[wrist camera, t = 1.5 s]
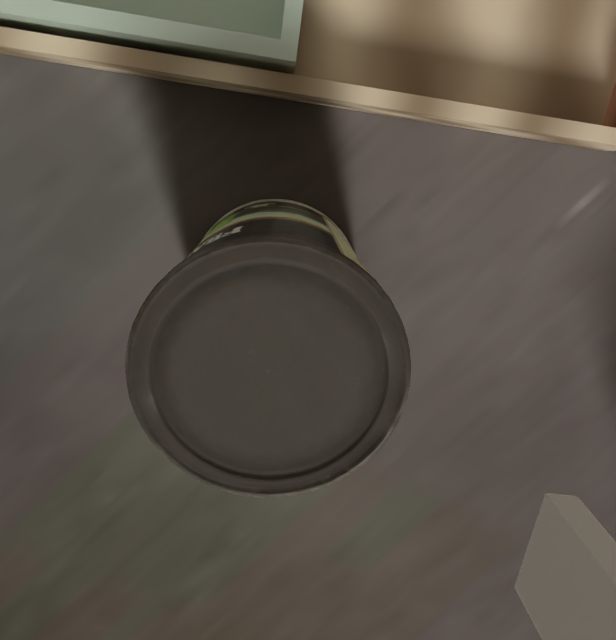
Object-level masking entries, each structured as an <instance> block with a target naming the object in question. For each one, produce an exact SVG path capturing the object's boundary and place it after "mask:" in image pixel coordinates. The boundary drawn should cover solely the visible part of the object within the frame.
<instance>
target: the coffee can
mask: <svg viewBox="0 0 616 640" xmlns="http://www.w3.org/2000/svg"><path fill="white" fill-rule="evenodd" d="M125 366H126V380H127V388H128V393H129V398H130V401H131V404H132V407H133V409H134V412H135V414H136V417H137V419H138V421H139V422H140V424H141V426H142V428H143V430H144V431H145V433H146V434H147V436H148V438H149V439H150V441H151V442H152V443H153V444H154V445H155V447H156V448H157V449H158V450H159V451H160V452H161V453H162V454H163V455H164V456H165V457H166V458H167V459H168V460H169V461H170V462H171V463H172V464H174V465H175V466H177V467H178V468H179V469H180V470H182V471H183V472H185V473H186V474H188V475H189V476H191V477H193V478H194V479H196V480H198V481H200V482H202V483H204V484H206V485H209V486H211V487H214V488H217V489H219V490H222V491H226V492H230V493H234V494H238V495H243V496H250V497H264V498H275V497H287V496H294V495H300V494H304V493H308V492H312V491H315V490H318V489H321V488H324V487H326V486H328V485H331V484H333V483H335V482H337V481H339V480H341V479H343V478H345V477H346V476H348V475H350V474H351V473H353V472H354V471H356V470H357V469H358V468H359V467H361V466H362V465H364V464H365V463H366V462H367V461H368V460H369V459H371V458H372V457H373V456H374V455H375V454H376V453H377V452H378V450H379V449H380V448H381V447H382V446H383V445H384V444H385V442H386V441H387V440H388V438H389V436H390V435H391V434H392V432H393V430H394V429H395V427H396V425H397V423H398V421H399V419H400V417H401V415H402V412H403V409H404V407H405V403H406V400H407V396H408V392H409V387H410V376H411V359H410V350H409V344H408V339H407V336H406V333H405V329H404V326H403V323H402V321H401V319H400V316H399V314H398V312H397V310H396V309H395V307H394V305H393V303H392V301H391V300H390V298H389V297H388V295H387V294H386V293H385V291H384V290H383V289H382V288H381V286H380V285H379V284H378V283H377V281H376V280H375V279H374V278H373V277H372V276H371V275H370V274H369V273H368V272H367V271H366V269H365V268H364V267H363V265H362V264H361V262H360V261H359V259H358V257H357V256H356V254H355V253H354V251H353V249H352V247H351V245H350V243H349V241H348V240H347V238H346V236H345V235H344V234H343V232H342V231H341V230H340V229H339V227H338V226H337V225H336V224H335V223H334V222H333V221H332V220H331V219H329V218H328V217H327V216H326V215H325V214H323V213H322V212H320V211H318V210H316V209H314V208H313V207H311V206H308V205H306V204H303V203H300V202H296V201H292V200H286V199H262V200H257V201H252V202H249V203H246V204H244V205H241V206H239V207H237V208H235V209H233V210H232V211H230V212H228V213H227V214H225V215H224V216H223V217H221V218H220V219H219V220H218V221H217V222H216V223H215V224H214V225H213V226H212V227H211V228H210V229H209V231H208V232H207V233H206V234H205V236H204V238H203V240H202V241H201V242H200V243H199V244H198V245H197V246H196V247H195V249H194V250H193V251H192V252H191V253H190V254H189V255H188V256H187V257H186V258H185V259H184V260H183V261H182V262H181V263H179V264H178V265H177V266H176V267H174V268H173V269H172V270H171V271H170V272H169V273H168V274H167V275H166V276H165V277H164V278H163V279H162V280H161V281H160V282H159V283H158V284H157V285H156V286H155V287H154V289H153V290H152V291H151V293H150V294H149V295H148V297H147V298H146V300H145V302H144V303H143V305H142V306H141V308H140V310H139V313H138V315H137V317H136V319H135V321H134V322H133V325H132V329H131V332H130V336H129V340H128V345H127V351H126V363H125Z"/></svg>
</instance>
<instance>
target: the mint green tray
mask: <svg viewBox="0 0 616 640" xmlns="http://www.w3.org/2000/svg"><path fill="white" fill-rule="evenodd" d="M303 1H304V0H0V25H1V26H7V27H14V28H20V29H26V30H32V31H38V32H44V33H50V34H56V35H62V36H68V37H74V38H80V39H86V40H92V41H98V42H105V43H111V44H117V45H123V46H129V47H135V48H141V49H147V50H153V51H159V52H165V53H171V54H177V55H183V56H189V57H196V58H202V59H208V60H214V61H220V62H226V63H232V64H238V65H244V66H250V67H256V68H262V69H268V70H274V71H280V72H287V73H293V74H294V73H295V65H296V57H297V49H298V41H299V33H300V25H301V17H302V9H303Z"/></svg>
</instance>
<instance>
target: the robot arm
mask: <svg viewBox="0 0 616 640" xmlns="http://www.w3.org/2000/svg"><path fill="white" fill-rule="evenodd" d="M514 588H515V590H516V591H517V593H518V595H519V597H520V599H521V601H522V603H523V605H524V607H525V609H526V610H527V612H528V614H529V616H530V618H531V620H532V622H533V624H534V626H535V627H536V629H537V631H538V633H539V635H540V637H541V639H542V640H616V542H615V540H614V539H613V538H612V537H611V536H610V535H609V533H608V532H607V531H606V530H605V529H604V527H603V526H602V525H601V524H600V523H599V522H598V520H597V519H596V518H595V517H594V516H593V514H592V513H591V512H590V511H589V510H588V509H587V507H586V506H585V505H584V504H583V503H582V501H581V500H580V499H579V498H578V497H577V496H572V495H562V494H552V493H545V496H544V499H543V502H542V505H541V508H540V511H539V514H538V517H537V520H536V523H535V526H534V529H533V532H532V535H531V538H530V541H529V544H528V547H527V550H526V553H525V556H524V559H523V562H522V565H521V568H520V571H519V574H518V577H517V580H516V583H515V586H514Z"/></svg>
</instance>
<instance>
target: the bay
mask: <svg viewBox="0 0 616 640" xmlns="http://www.w3.org/2000/svg"><path fill="white" fill-rule="evenodd" d="M0 54H6V55H12V56H18V57H25V58H31V59H37V60H43V61H49V62H56V63H62V64H68V65H74V66H81V67H87V68H93V69H99V70H106V71H112V72H118V73H124V74H130V75H137V76H143V77H149V78H155V79H162V80H168V81H174V82H180V83H187V84H193V85H199V86H205V87H211V88H218V89H224V90H230V91H236V92H243V93H249V94H255V95H261V96H268V97H274V98H280V99H286V100H292V101H299V102H305V103H311V104H317V105H324V106H330V107H336V108H342V109H349V110H355V111H361V112H367V113H373V114H380V115H386V116H392V117H398V118H405V119H411V120H417V121H423V122H430V123H436V124H442V125H448V126H454V127H461V128H467V129H473V130H479V131H486V132H492V133H498V134H504V135H511V136H517V137H523V138H529V139H535V140H542V141H548V142H554V143H560V144H567V145H573V146H579V147H585V148H592V149H598V150H604V151H616V0H304V1H303V9H302V17H301V25H300V33H299V41H298V49H297V57H296V65H295V73H294V74H293V73H287V72H280V71H274V70H268V69H262V68H256V67H250V66H244V65H238V64H232V63H226V62H220V61H214V60H208V59H202V58H196V57H189V56H183V55H177V54H171V53H165V52H159V51H153V50H147V49H141V48H135V47H129V46H123V45H117V44H111V43H105V42H98V41H92V40H86V39H80V38H74V37H68V36H62V35H56V34H50V33H44V32H38V31H32V30H26V29H20V28H14V27H7V26H1V25H0Z"/></svg>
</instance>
